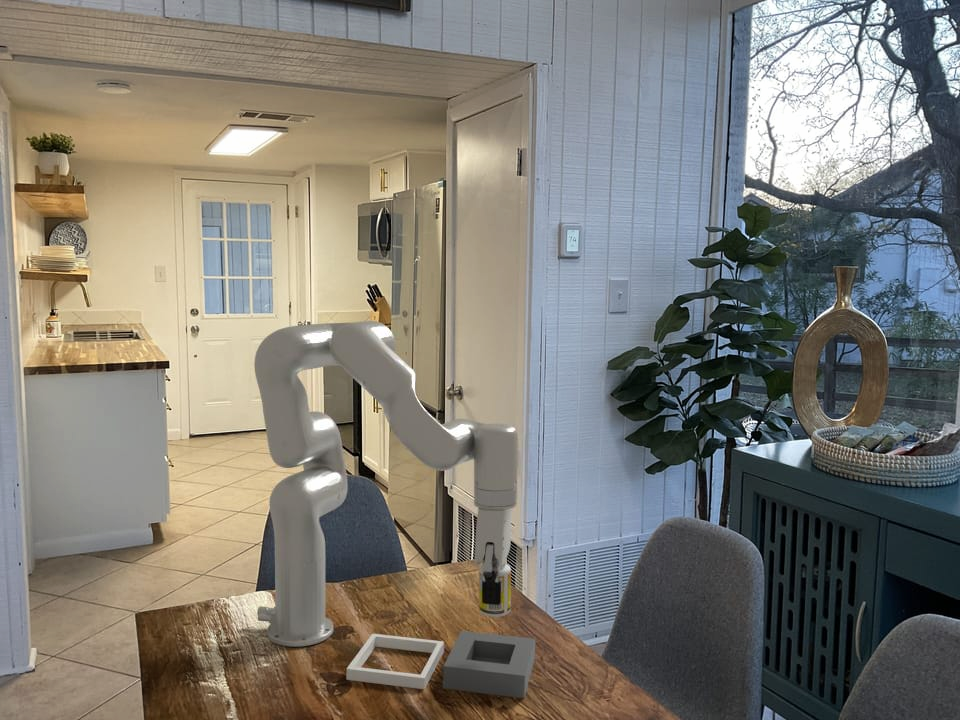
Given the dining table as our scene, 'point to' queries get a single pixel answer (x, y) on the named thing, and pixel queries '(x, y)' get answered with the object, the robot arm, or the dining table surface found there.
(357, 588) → the dining table surface
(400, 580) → the dining table surface
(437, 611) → the dining table surface
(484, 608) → the supplement bottle
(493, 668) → the gray square socket block
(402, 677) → the tray rim
